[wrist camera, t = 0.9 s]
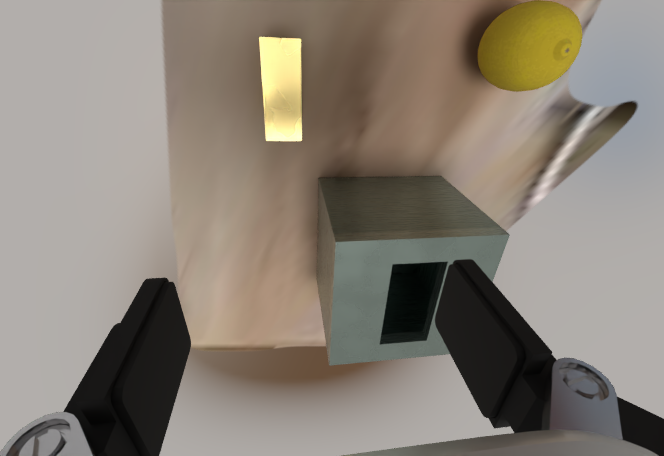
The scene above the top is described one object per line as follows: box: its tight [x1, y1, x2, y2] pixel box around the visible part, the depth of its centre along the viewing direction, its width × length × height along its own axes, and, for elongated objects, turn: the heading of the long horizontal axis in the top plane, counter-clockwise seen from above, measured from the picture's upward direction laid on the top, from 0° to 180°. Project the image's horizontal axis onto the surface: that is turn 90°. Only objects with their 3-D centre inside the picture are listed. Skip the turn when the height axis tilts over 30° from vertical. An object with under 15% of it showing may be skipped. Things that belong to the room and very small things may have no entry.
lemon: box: [478, 0, 582, 91], centre depth 23 cm, size 6×6×8 cm
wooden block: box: [259, 37, 302, 141], centre depth 23 cm, size 6×2×6 cm, turn 178°
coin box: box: [317, 176, 509, 365], centre depth 29 cm, size 12×12×11 cm
